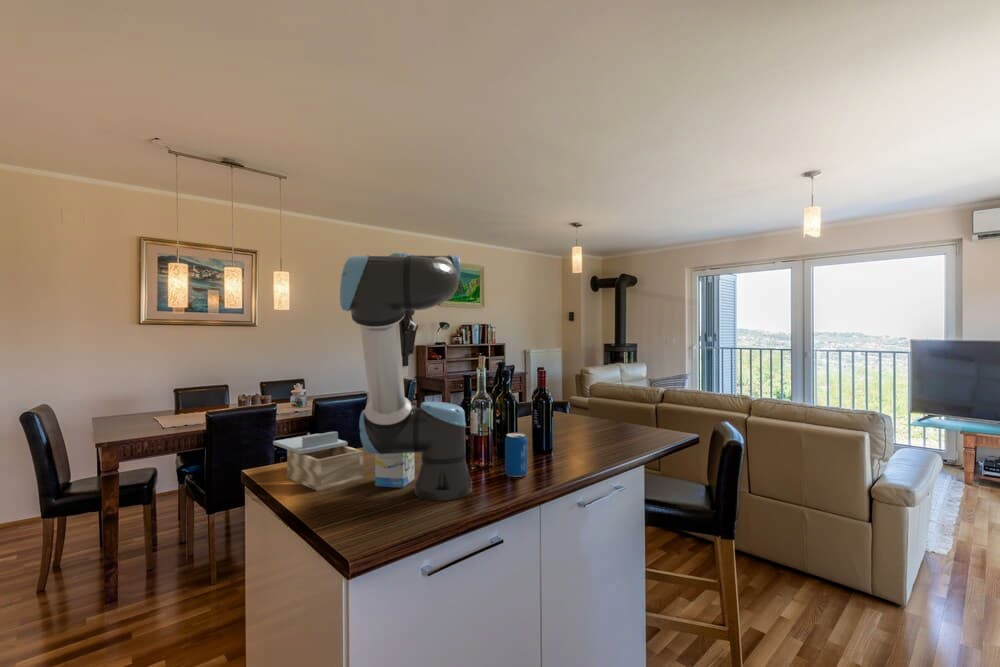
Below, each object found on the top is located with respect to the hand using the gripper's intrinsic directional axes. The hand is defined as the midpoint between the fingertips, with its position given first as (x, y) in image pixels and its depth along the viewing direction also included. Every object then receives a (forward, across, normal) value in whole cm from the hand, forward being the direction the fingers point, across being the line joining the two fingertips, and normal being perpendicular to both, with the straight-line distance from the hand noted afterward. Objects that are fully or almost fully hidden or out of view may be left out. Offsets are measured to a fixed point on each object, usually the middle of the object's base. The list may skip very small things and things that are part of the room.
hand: (402, 376), depth 146 cm
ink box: (+29, -12, +12) cm, 33 cm away
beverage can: (+29, -34, -15) cm, 47 cm away
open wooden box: (+28, +7, +23) cm, 37 cm away
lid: (+20, +16, +23) cm, 34 cm away
